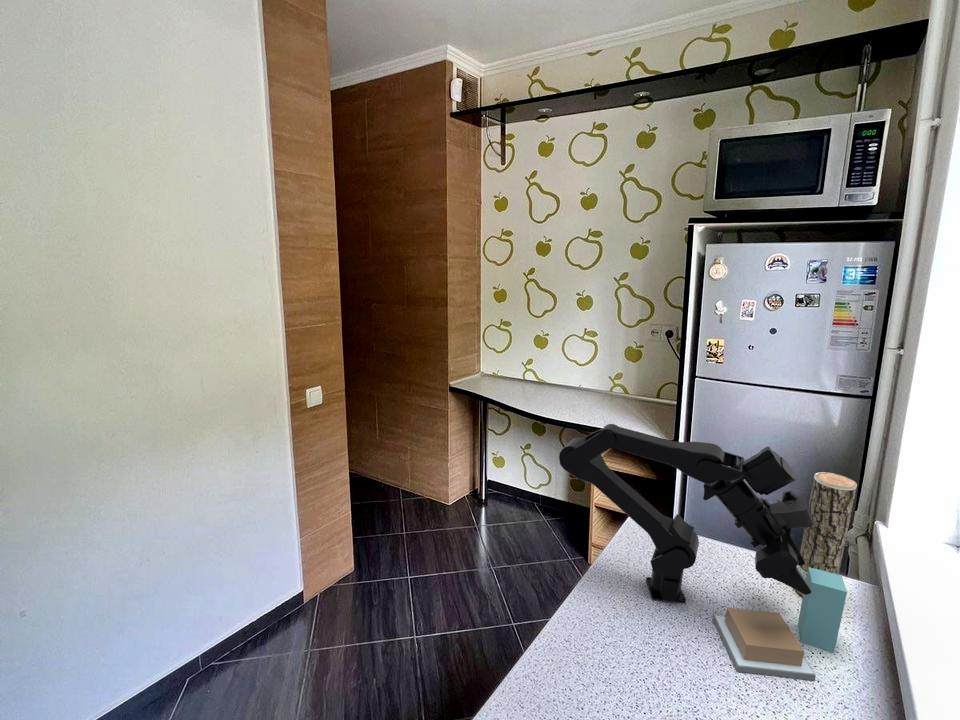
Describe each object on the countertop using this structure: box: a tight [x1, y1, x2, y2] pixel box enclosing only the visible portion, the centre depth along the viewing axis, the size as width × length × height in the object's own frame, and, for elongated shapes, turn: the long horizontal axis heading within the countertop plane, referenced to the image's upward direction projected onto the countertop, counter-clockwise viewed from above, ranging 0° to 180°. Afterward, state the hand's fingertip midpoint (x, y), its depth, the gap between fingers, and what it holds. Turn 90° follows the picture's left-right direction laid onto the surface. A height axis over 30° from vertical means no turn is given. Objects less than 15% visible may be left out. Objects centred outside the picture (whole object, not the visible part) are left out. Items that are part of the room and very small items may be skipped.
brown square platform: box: [712, 607, 817, 682], centre depth 88 cm, size 12×12×4 cm
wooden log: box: [795, 471, 858, 597], centre depth 100 cm, size 7×7×25 cm
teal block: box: [797, 567, 848, 654], centre depth 89 cm, size 5×5×12 cm
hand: (805, 578), depth 90 cm, fingers open, 9 cm apart
